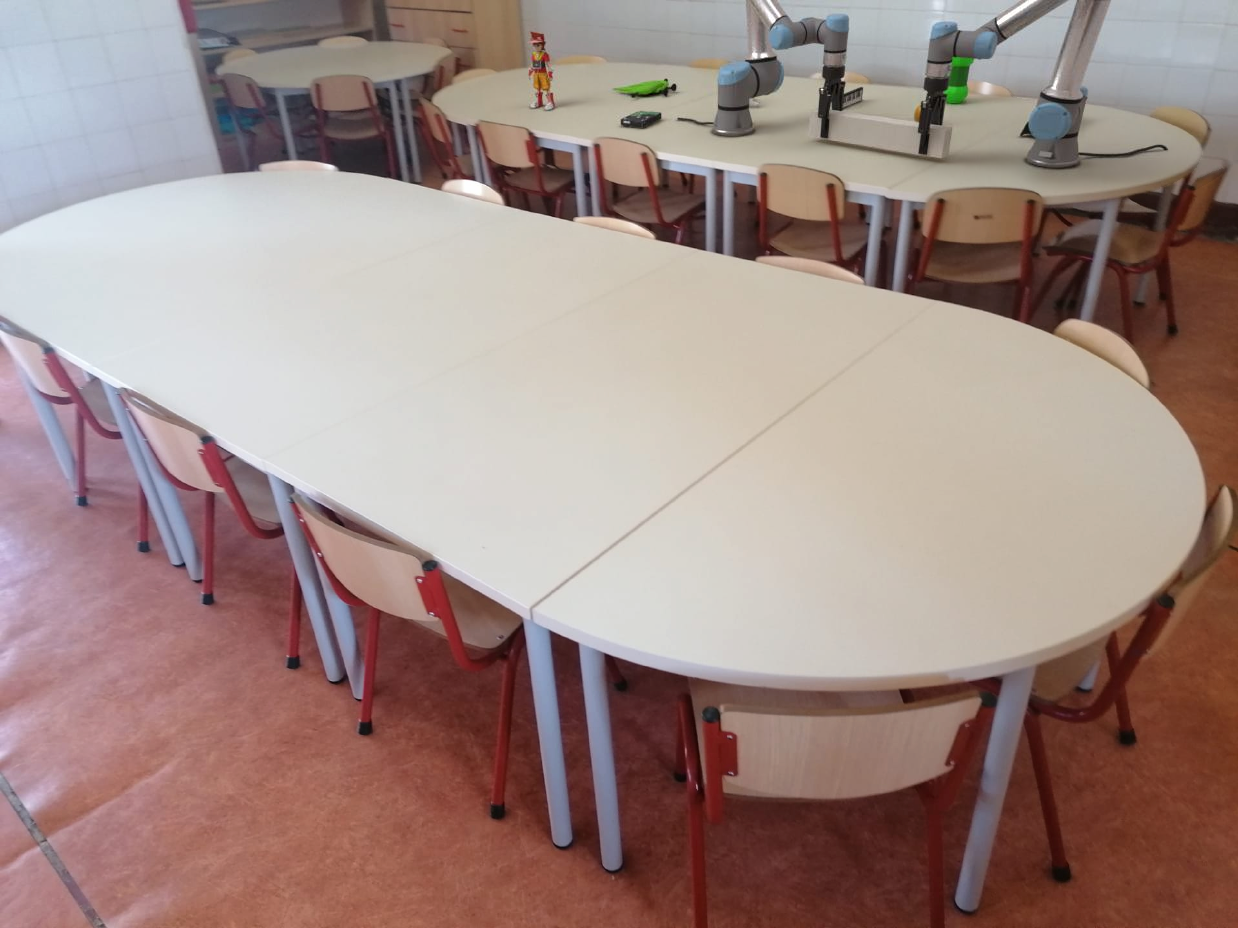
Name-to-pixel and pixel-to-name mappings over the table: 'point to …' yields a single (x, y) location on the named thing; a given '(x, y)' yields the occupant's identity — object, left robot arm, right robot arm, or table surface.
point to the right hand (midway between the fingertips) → (926, 151)
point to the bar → (881, 132)
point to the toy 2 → (648, 88)
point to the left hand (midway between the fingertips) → (828, 135)
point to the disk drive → (641, 119)
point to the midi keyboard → (852, 96)
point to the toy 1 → (541, 71)
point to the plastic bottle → (958, 80)
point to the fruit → (917, 113)
